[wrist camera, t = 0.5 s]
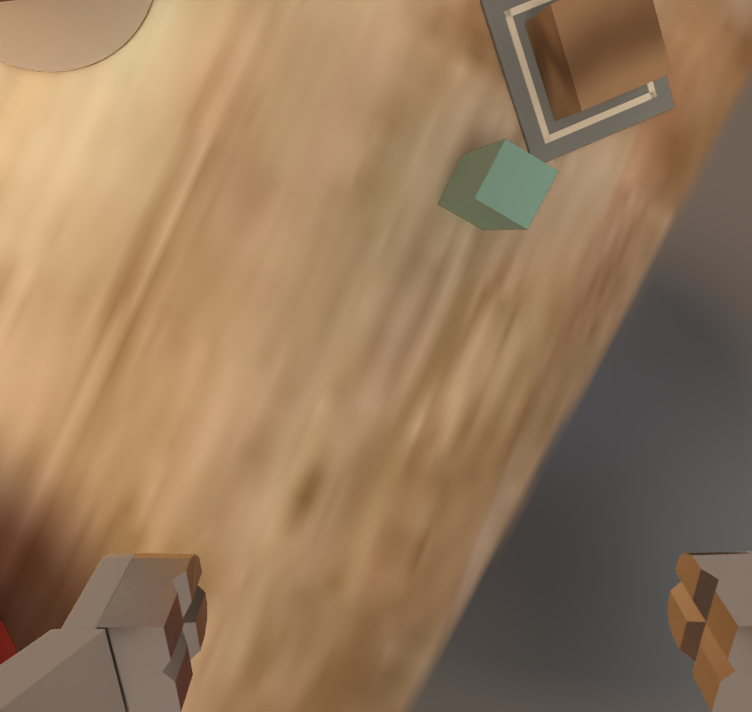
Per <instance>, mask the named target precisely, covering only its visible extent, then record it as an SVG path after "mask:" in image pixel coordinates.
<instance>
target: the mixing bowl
mask: <svg viewBox="0 0 752 712" xmlns="http://www.w3.org/2000/svg"><path fill="white" fill-rule="evenodd" d="M15 654H17V650H16V648H15V645H14V643H13V641H12V639H11V637H10V635H9V633H8V631H7V630H6V628H5V626H4V624H3V623H2V621H1V619H0V665H1V664H2V663H4V662H5V661H6V660H8V659H9V658H11V657H12V656H14V655H15Z"/></svg>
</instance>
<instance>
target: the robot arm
mask: <svg viewBox="0 0 752 712" xmlns="http://www.w3.org/2000/svg"><path fill="white" fill-rule="evenodd" d="M151 2H152V0H0V62H3V63H5V64H8V65H11V66H15V67H18V68H22V69H27V70H33V71H44V72H59V71H68V70H74V69H78V68H82V67H85V66H88V65H91V64H94V63H96V62H98V61H100V60H102V59H104V58H106V57H108V56H109V55H111V54H112V53H114V52H115V51H117V50H118V49H119V48H120V47H122V46H123V45H124V44H125V43H126V42H127V41H128V40H129V39H130V38H131V37H132V35H133V34H134V33H135V32H136V30H137V29H138V28H139V26H140V25H141V23H142V21H143V20H144V18H145V16H146V14H147V12H148V10H149V7H150V5H151ZM676 572H677V574H678V576H679V578H680V579H681V582H680V583H679V584H678V585H677V586H676V587H675V588H673V590H671V591H670V596H669V601H668V606H667V607H668V617H669V625H670V628H671V631H672V635H673V637H674V639H675V641H676V643H677V645H678V647H679V650H681V651H682V652H683V653H685V654H686V655H687V656H688V657H690V658H691V659H692V660H694V661H695V665H694V669H693V672H692V675H693V677H694V678H695V680H696V682H697V684H698V686H699V688H700V690H701V692H702V694H703V695H704V698H705V700H706V701H707V703H708V705H709V707H710V709H711V711H713V712H716V711H717V712H752V551H745V552H684V553H683V554H682V555H681V557H680V558H679V559H678V563H677V567H676ZM201 574H202V569H201V564H200V559H199V557H198V556H197V555H195V554H162V553H138V554H130V553H108V554H107V555H105V556H104V557H103V558H102V559H101V560H100V562H99V563H98V565H97V567H96V569H95V570H94V572H93V574H92V576H91V577H90V579H89V581H88V582H87V584H86V586H85V588H84V589H83V591H82V593H81V595H80V596H79V598H78V600H77V602H76V603H75V605H74V607H73V608H72V610H71V612H70V614H69V615H68V617H67V619H66V621H65V622H64V624H63V626H62V627H61V629H51V630H50V631H48V632H47V633H45V634H44V635H42V636H41V637H40V638H38V639H37V640H35V641H34V642H32V643H31V644H29V645H28V646H27V647H25V648H24V649H22V650H21V651H19V652H18V653H17V654H15V655H14V656H12V657H11V658H9V659H8V660H6V661H5V662H4V663H2V664H1V665H0V712H181V710H182V707H183V704H184V701H185V698H186V695H187V691H188V688H189V685H190V682H191V679H192V676H193V672H192V667H191V661H190V660H191V659H192V658H193V657H194V656H195V655H196V654H197V653H198V652H199V651H200V650H201V646H202V643H203V640H204V636H205V630H206V623H207V600H206V593H205V592H204V591H203V590H202V589H201V588H200V587H199V586H198V583H199V580H200V577H201Z"/></svg>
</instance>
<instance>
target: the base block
mask: <svg viewBox="0 0 752 712" xmlns="http://www.w3.org/2000/svg"><path fill="white" fill-rule="evenodd" d="M525 27H526V30H527V33H528V36H529V40H530V43H531V46H532V49H533V53H534V56H535V59H536V62H537V66H538V69H539V72H540V75H541V78H542V82H543V85H544V88H545V91H546V95H547V98H548V101H549V104H550V108H551V111H552V114H553V117H554V121H556V120H559V119H562V118H564V117H567V116H570V115H572V114H575V113H578V112H581V111H583V110H585V109H588V108H590V107H593V106H595V105H597V104H600V103H602V102H604V101H607V100H609V99H612V98H614V97H616V96H619V95H621V94H623V93H626V92H628V91H631V90H633V89H635V88H638V87H640V86H643V85H645V84H647V83H650V82H652V81H654V80H657V79H659V78H662V77H664V76H666V75H669V74H671V69H670V65H669V62H668V58H667V54H666V50H665V46H664V42H663V38H662V34H661V30H660V26H659V23H658V19H657V15H656V11H655V7H654V3H653V0H559V1H556V2H554V3H551V4H549V5H548V6H547V7H546V8H544V9H543V10H542V11H540V12H539V13H538V14H537V15H535V16H534V17H533V18H531V19H530V20H529V21H528V22H526V23H525Z"/></svg>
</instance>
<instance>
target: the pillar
mask: <svg viewBox="0 0 752 712" xmlns="http://www.w3.org/2000/svg"><path fill="white" fill-rule="evenodd" d="M557 173H558V171H557V170H555V169H554V168H552V167H550V166H549V165H547V164H546V163H544V162H542V161H541V160H539V159H538V158H536V157H534V156H533V155H531V154H530V153H528V152H526V151H525V150H523V149H522V148H520V147H518V146H517V145H515V144H513V143H512V142H510V141H509V140H507V139H503V140H501V141H498V142H495V143H493V144H490V145H487V146H485V147H482V148H479V149H477V150H474V151H472V152H469V153H466V154H464V155H463V156H462V158H461V160H460V162H459V164H458V166H457V168H456V170H455V172H454V174H453V176H452V178H451V180H450V182H449V184H448V186H447V188H446V190H445V192H444V193H443V195H442V197H441V199H440V201H439V203H438V205H440V206H442V207H444V208H445V209H447V210H449V211H451V212H452V213H454V214H456V215H458V216H459V217H461V218H463V219H465V220H466V221H468V222H470V223H472V224H473V225H475V226H477V227H478V228H480V229H482V230H528V228H529V226H530V224H531V222H532V220H533V218H534V217H535V215H536V213H537V211H538V209H539V207H540V205H541V203H542V201H543V200H544V198H545V196H546V194H547V192H548V190H549V188H550V186H551V184H552V182H553V181H554V179H555V177H556V175H557Z"/></svg>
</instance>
